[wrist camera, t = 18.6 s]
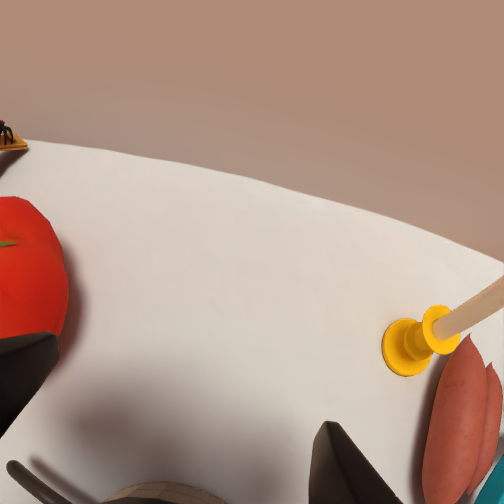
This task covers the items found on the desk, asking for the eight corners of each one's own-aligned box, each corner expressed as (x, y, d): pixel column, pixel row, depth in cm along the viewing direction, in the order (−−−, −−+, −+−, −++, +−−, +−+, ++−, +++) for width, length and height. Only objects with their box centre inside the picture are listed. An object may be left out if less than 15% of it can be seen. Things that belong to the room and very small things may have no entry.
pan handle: (96, 514, 12) (87, 520, 11) (91, 528, 11) (82, 534, 10) (16, 456, 13) (4, 456, 11) (12, 470, 12) (0, 470, 11)
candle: (437, 360, 22) (573, 286, 9) (395, 387, 21) (549, 325, 8) (414, 311, 25) (533, 210, 11) (372, 333, 23) (501, 228, 10)
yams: (487, 346, 23) (519, 331, 19) (459, 514, 14) (493, 520, 9) (429, 333, 23) (462, 315, 19) (391, 525, 14) (422, 539, 10)
